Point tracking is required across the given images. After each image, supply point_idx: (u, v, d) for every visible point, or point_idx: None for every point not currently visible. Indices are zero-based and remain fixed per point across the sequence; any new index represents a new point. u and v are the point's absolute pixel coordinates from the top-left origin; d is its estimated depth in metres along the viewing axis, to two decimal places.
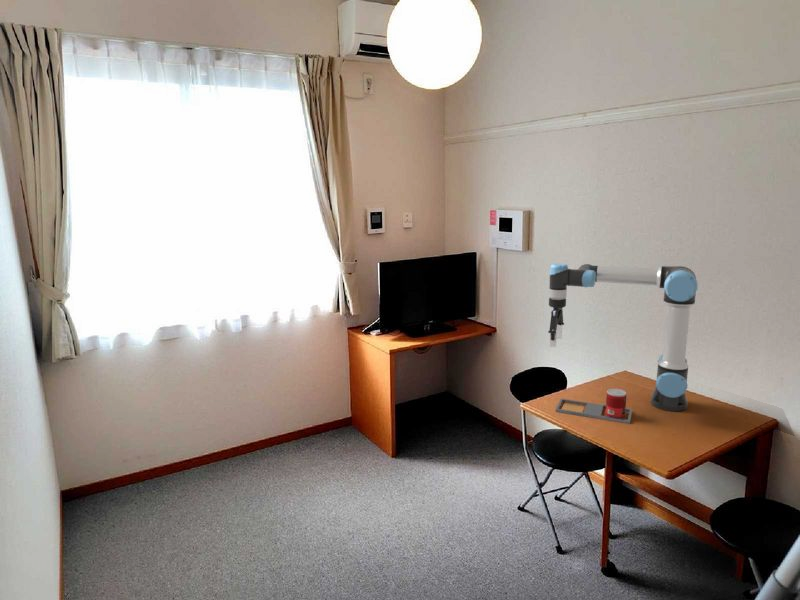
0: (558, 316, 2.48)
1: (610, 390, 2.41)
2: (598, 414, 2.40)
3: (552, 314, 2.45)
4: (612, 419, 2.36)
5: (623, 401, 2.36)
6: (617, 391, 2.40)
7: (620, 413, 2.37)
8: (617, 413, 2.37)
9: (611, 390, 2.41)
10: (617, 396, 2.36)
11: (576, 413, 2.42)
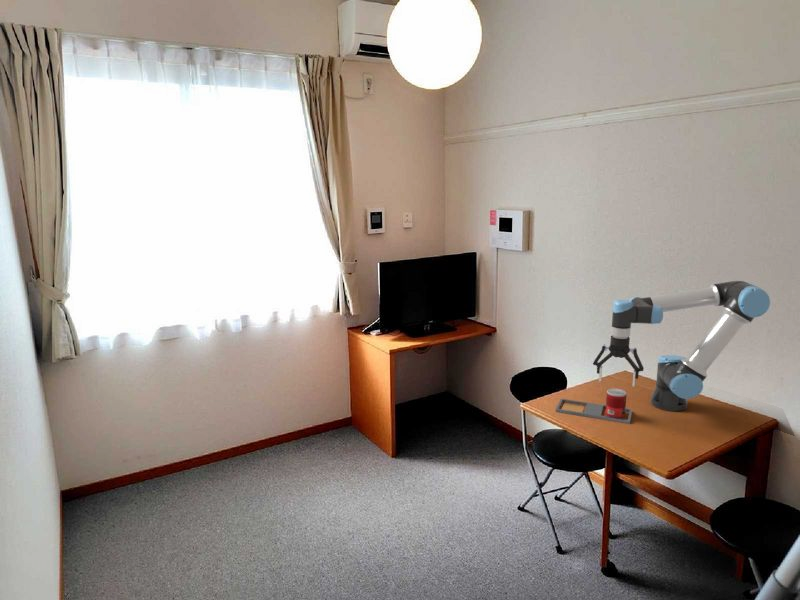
0: (610, 353, 2.35)
1: (610, 390, 2.41)
2: (598, 414, 2.40)
3: None
4: (612, 419, 2.36)
5: (623, 401, 2.36)
6: (617, 391, 2.40)
7: (620, 413, 2.37)
8: (617, 413, 2.37)
9: (611, 390, 2.41)
10: (617, 396, 2.36)
11: (576, 413, 2.42)
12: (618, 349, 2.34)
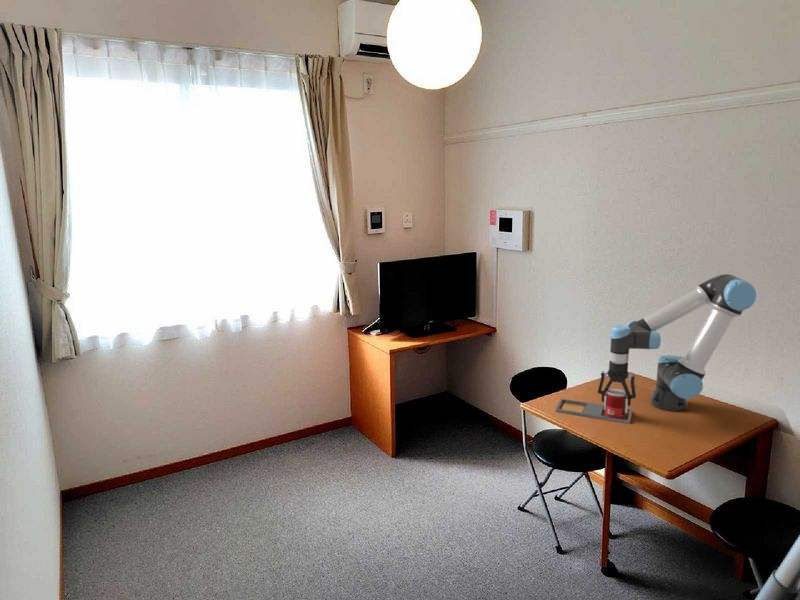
0: (610, 379, 2.38)
1: (610, 390, 2.41)
2: (598, 414, 2.40)
3: None
4: (612, 419, 2.36)
5: (623, 401, 2.36)
6: (617, 391, 2.40)
7: (620, 413, 2.37)
8: (617, 413, 2.37)
9: (611, 390, 2.41)
10: (617, 396, 2.35)
11: (576, 413, 2.42)
12: (616, 372, 2.36)
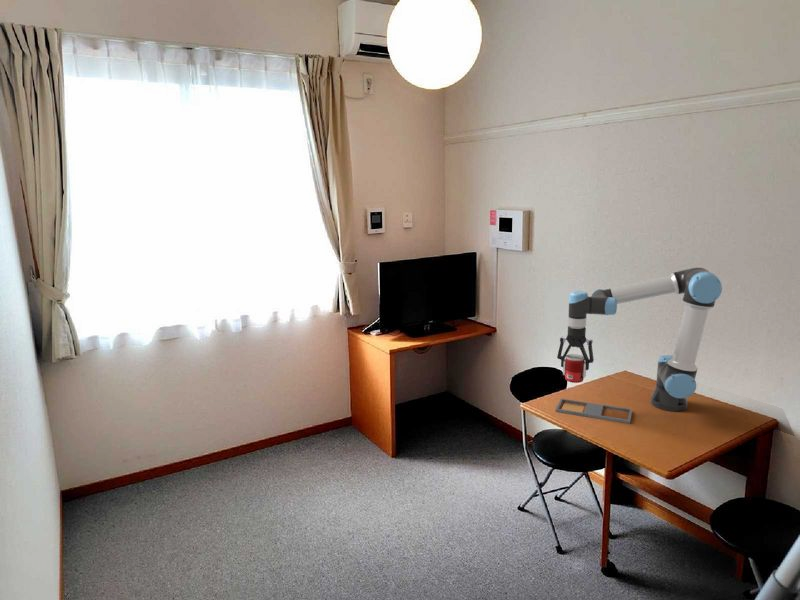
0: (569, 344, 2.42)
1: (569, 355, 2.46)
2: (598, 414, 2.40)
3: None
4: (612, 419, 2.36)
5: (581, 365, 2.41)
6: (576, 356, 2.45)
7: (579, 377, 2.42)
8: (575, 377, 2.42)
9: (570, 355, 2.46)
10: (575, 360, 2.40)
11: (576, 413, 2.42)
12: (575, 337, 2.41)
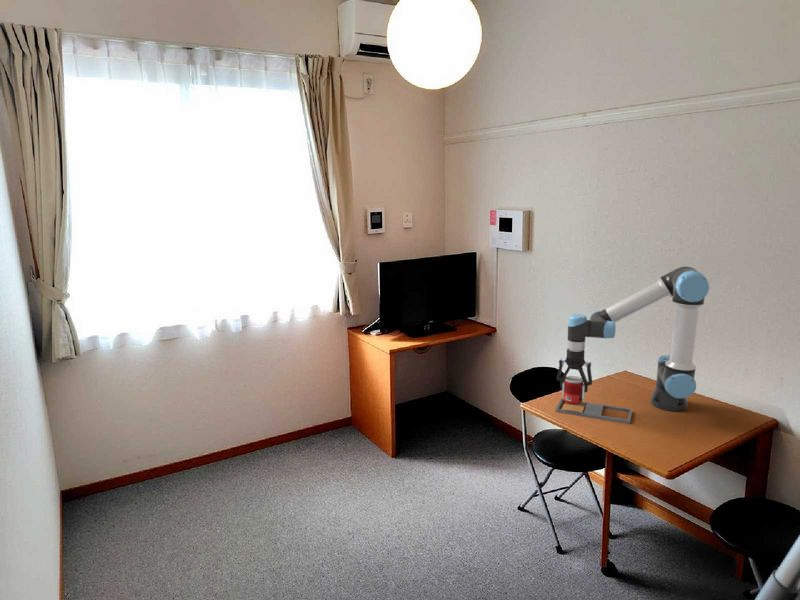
0: (568, 367, 2.45)
1: (568, 377, 2.48)
2: (598, 414, 2.40)
3: None
4: (612, 419, 2.36)
5: (580, 388, 2.43)
6: (575, 378, 2.47)
7: (577, 399, 2.44)
8: (574, 399, 2.44)
9: (569, 377, 2.48)
10: (574, 382, 2.43)
11: (576, 413, 2.42)
12: (573, 360, 2.43)
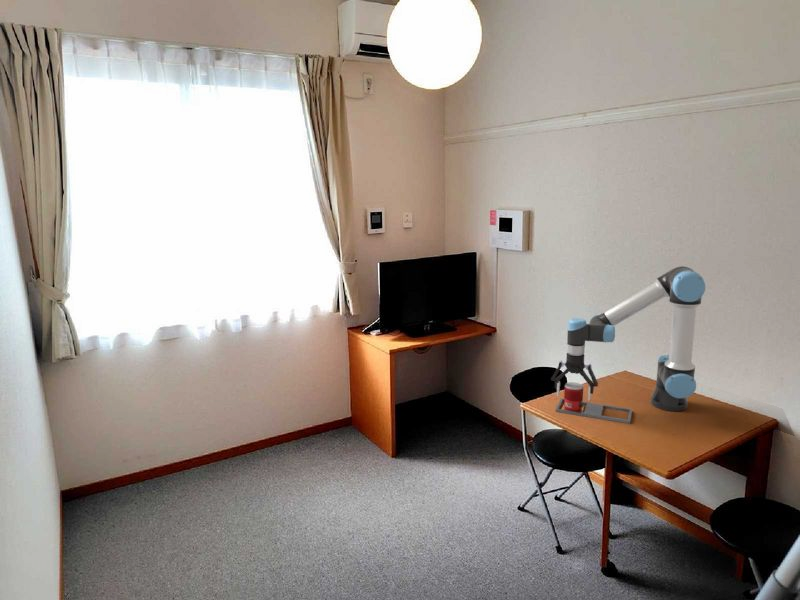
0: (566, 369, 2.45)
1: (568, 384, 2.49)
2: (598, 414, 2.40)
3: None
4: (612, 419, 2.36)
5: (580, 394, 2.44)
6: (575, 385, 2.48)
7: (577, 406, 2.45)
8: (574, 406, 2.45)
9: (569, 384, 2.49)
10: (574, 389, 2.43)
11: (576, 413, 2.42)
12: (574, 365, 2.44)
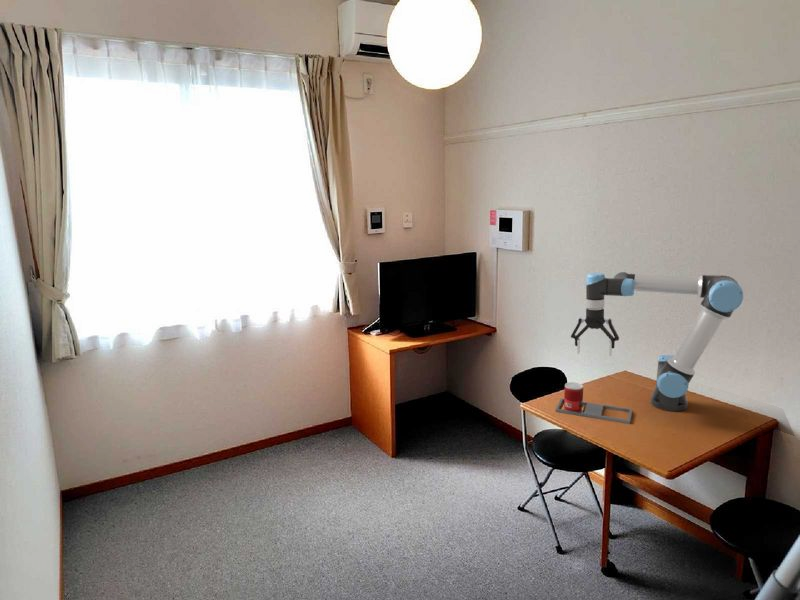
0: (586, 325, 2.44)
1: (568, 384, 2.49)
2: (598, 414, 2.40)
3: None
4: (612, 419, 2.36)
5: (580, 394, 2.44)
6: (575, 385, 2.48)
7: (577, 406, 2.45)
8: (574, 406, 2.45)
9: (569, 384, 2.49)
10: (574, 389, 2.43)
11: (576, 413, 2.42)
12: (594, 321, 2.42)
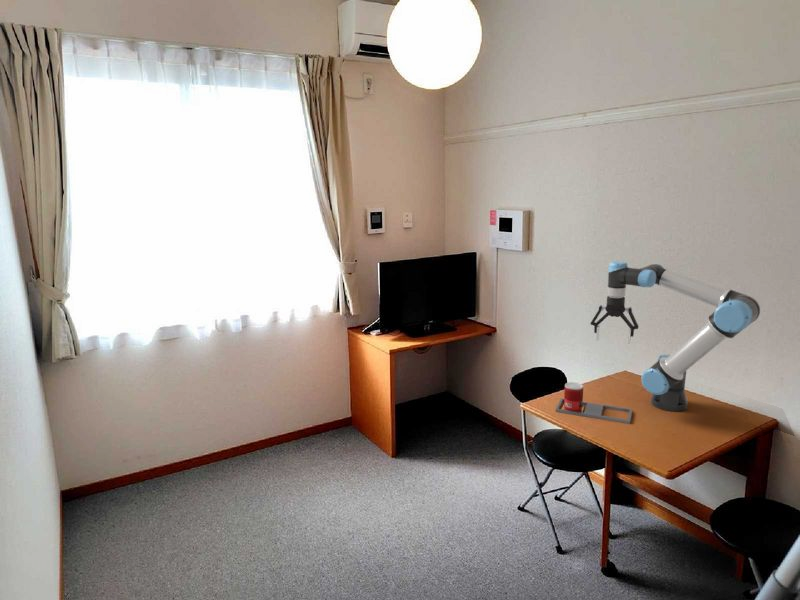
0: (607, 313, 2.48)
1: (568, 384, 2.49)
2: (598, 414, 2.40)
3: None
4: (612, 419, 2.36)
5: (580, 394, 2.44)
6: (575, 385, 2.48)
7: (577, 406, 2.45)
8: (574, 406, 2.45)
9: (569, 384, 2.49)
10: (574, 389, 2.43)
11: (576, 413, 2.42)
12: (614, 308, 2.46)
